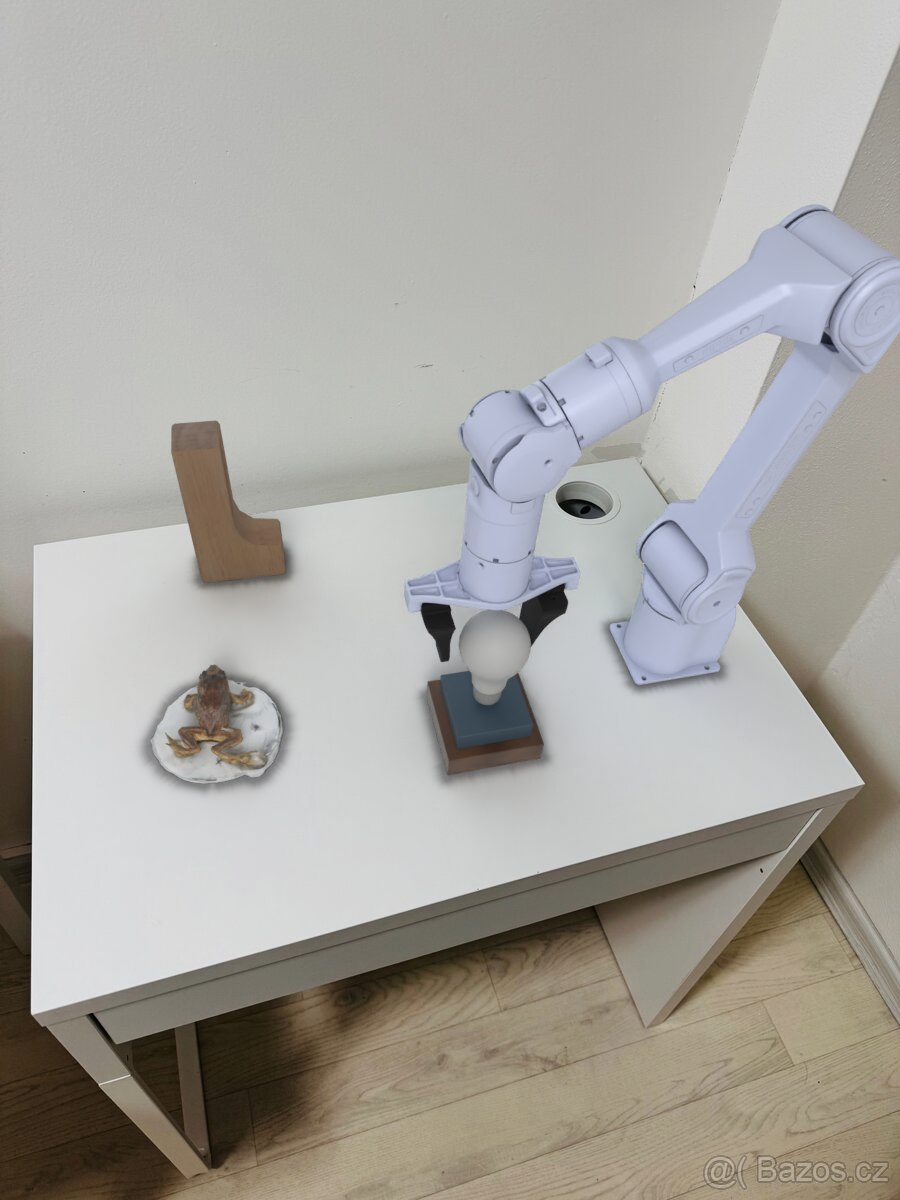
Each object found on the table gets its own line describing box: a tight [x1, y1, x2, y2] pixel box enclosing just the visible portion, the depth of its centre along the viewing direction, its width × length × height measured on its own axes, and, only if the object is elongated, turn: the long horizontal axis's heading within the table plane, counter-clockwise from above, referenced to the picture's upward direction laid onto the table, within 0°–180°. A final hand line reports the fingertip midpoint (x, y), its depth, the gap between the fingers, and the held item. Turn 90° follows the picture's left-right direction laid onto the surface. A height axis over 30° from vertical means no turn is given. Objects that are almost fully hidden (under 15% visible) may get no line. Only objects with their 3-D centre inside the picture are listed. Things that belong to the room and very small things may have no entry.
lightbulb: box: [458, 609, 532, 705], centre depth 73 cm, size 6×6×11 cm
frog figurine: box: [149, 664, 284, 785], centre depth 77 cm, size 12×12×4 cm
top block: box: [439, 670, 533, 749], centre depth 78 cm, size 7×7×2 cm
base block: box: [425, 672, 545, 776], centre depth 79 cm, size 9×9×2 cm
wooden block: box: [170, 420, 287, 584], centre depth 86 cm, size 9×4×18 cm, turn 102°
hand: (483, 646), depth 75 cm, fingers open, 7 cm apart
